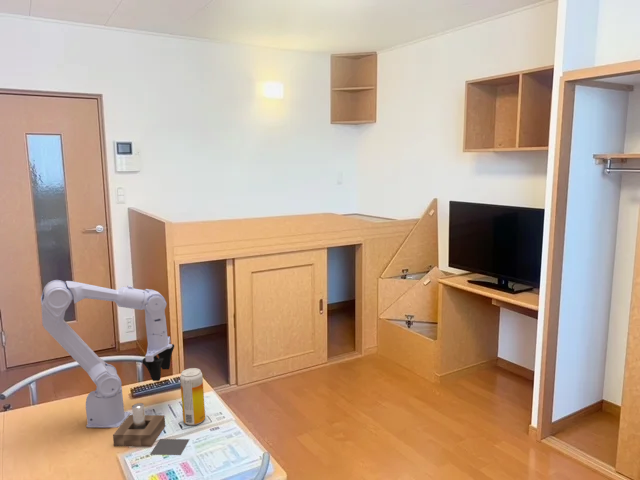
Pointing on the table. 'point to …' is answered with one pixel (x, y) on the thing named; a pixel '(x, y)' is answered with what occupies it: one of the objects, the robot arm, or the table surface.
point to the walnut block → (139, 432)
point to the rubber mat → (169, 447)
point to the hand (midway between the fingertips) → (161, 374)
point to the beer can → (192, 396)
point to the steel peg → (139, 416)
